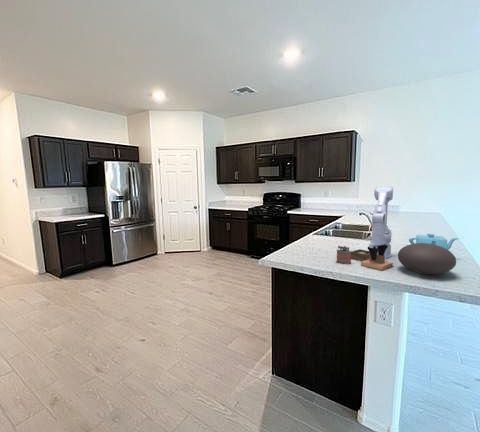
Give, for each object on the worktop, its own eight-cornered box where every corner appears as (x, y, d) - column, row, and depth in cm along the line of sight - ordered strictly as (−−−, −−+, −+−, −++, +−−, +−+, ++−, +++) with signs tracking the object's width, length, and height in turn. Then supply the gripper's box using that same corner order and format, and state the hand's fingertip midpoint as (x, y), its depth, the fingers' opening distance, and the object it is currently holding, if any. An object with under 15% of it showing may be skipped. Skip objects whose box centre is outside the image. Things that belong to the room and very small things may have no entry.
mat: (372, 261, 156) (372, 261, 156) (393, 266, 146) (393, 266, 146) (360, 265, 149) (360, 264, 149) (382, 271, 139) (382, 270, 139)
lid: (372, 261, 156) (372, 251, 155) (392, 265, 146) (393, 255, 146) (361, 264, 149) (361, 254, 149) (381, 270, 140) (382, 259, 139)
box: (359, 256, 169) (359, 249, 169) (374, 259, 161) (374, 252, 161) (350, 258, 164) (350, 251, 163) (365, 262, 155) (365, 254, 155)
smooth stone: (390, 272, 136) (391, 244, 135) (404, 262, 154) (405, 237, 152) (451, 284, 119) (453, 252, 117) (458, 271, 136) (460, 243, 135)
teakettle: (405, 255, 169) (406, 232, 168) (427, 252, 175) (428, 230, 173) (434, 263, 151) (436, 238, 150) (458, 259, 157) (459, 235, 155)
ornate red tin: (351, 263, 154) (351, 246, 153) (350, 264, 152) (350, 247, 150) (336, 261, 159) (337, 245, 157) (335, 262, 156) (336, 246, 155)
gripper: (378, 232, 153) (377, 255, 155) (364, 235, 145) (363, 259, 147) (390, 233, 147) (389, 257, 149) (376, 237, 139) (375, 262, 141)
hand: (377, 258), depth 147 cm, fingers open, 7 cm apart
